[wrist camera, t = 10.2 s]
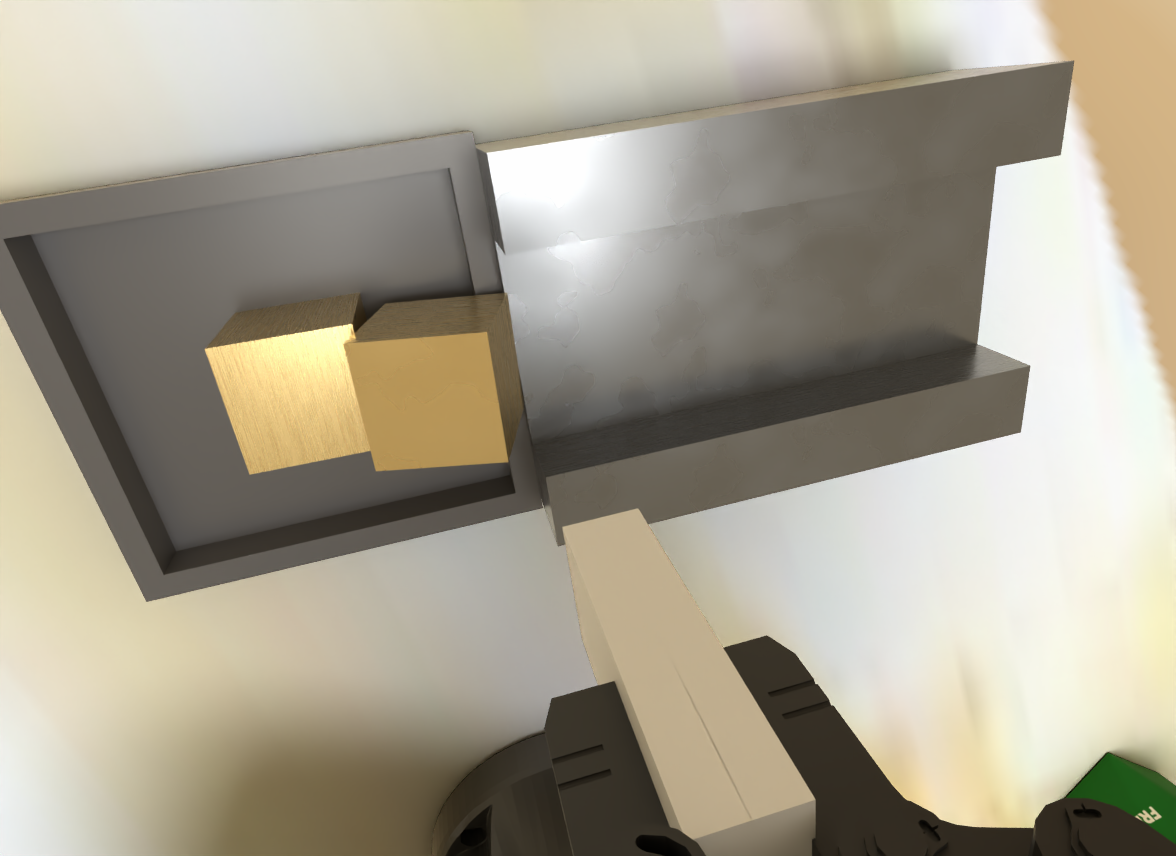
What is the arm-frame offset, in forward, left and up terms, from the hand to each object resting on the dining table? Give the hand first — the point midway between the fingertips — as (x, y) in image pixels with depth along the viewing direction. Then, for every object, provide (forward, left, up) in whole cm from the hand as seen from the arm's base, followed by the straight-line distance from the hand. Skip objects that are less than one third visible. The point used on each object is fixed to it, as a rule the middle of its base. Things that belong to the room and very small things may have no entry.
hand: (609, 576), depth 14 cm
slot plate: (+10, 0, -17) cm, 20 cm away
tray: (-8, 0, -17) cm, 19 cm away
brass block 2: (-2, 0, -15) cm, 15 cm away
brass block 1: (-5, +1, -15) cm, 15 cm away
